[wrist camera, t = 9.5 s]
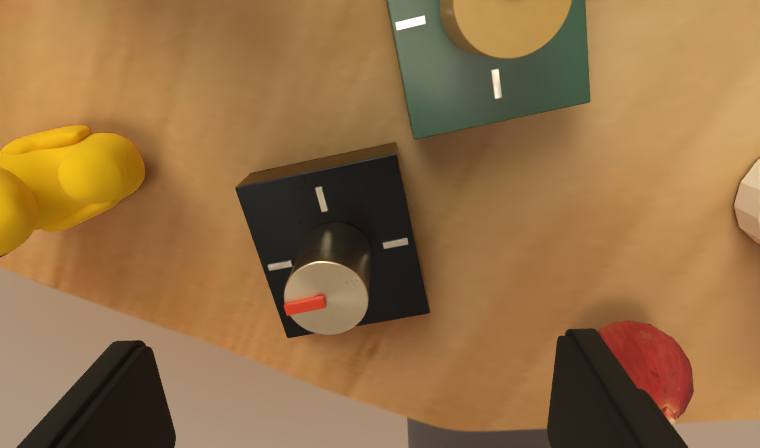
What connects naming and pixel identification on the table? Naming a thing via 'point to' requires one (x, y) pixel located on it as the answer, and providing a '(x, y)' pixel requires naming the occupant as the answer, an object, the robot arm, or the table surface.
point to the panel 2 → (483, 72)
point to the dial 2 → (502, 25)
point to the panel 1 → (346, 205)
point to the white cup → (749, 203)
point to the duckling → (63, 180)
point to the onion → (652, 364)
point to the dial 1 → (330, 280)
